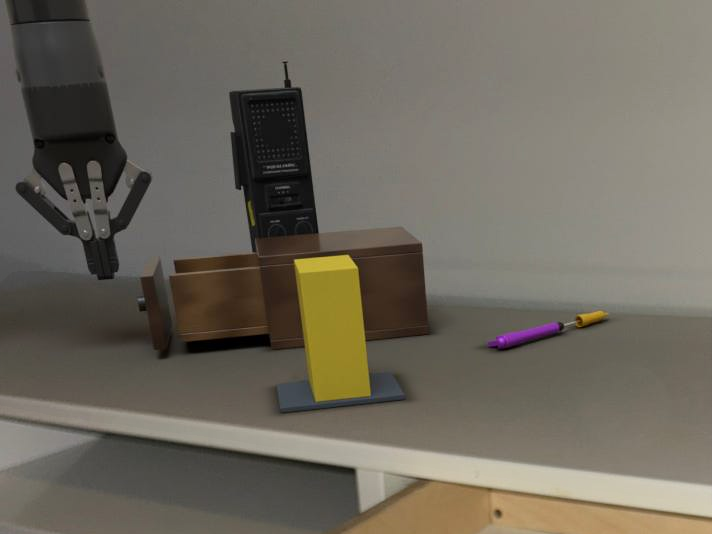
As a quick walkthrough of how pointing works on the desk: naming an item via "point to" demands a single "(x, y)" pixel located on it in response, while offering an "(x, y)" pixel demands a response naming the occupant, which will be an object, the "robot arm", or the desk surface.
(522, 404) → the desk surface
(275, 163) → the portable radio
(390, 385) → the mat
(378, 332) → the cabinet
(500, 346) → the purple soldering iron
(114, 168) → the robot arm
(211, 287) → the drawer
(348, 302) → the block
